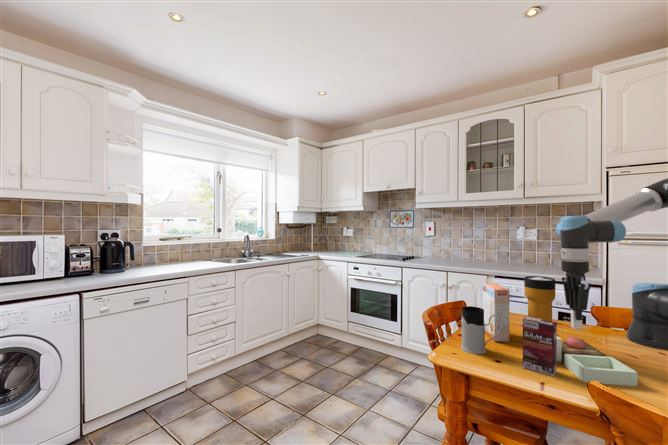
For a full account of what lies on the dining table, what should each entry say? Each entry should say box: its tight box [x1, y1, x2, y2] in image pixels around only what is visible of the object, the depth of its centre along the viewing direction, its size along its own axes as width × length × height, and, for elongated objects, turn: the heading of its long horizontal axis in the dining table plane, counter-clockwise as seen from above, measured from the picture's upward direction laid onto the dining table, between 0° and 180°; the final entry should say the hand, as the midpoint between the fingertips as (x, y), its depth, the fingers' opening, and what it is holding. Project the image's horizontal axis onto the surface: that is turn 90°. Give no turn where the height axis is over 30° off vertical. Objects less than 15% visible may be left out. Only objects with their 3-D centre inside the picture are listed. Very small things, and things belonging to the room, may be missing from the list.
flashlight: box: [523, 275, 556, 322], centre depth 119 cm, size 10×26×10 cm
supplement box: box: [522, 316, 558, 377], centre depth 98 cm, size 9×5×16 cm, turn 45°
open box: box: [556, 336, 563, 364], centre depth 107 cm, size 7×7×8 cm
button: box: [566, 336, 586, 350], centre depth 106 cm, size 5×5×3 cm
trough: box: [563, 354, 638, 387], centre depth 95 cm, size 14×10×4 cm
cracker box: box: [482, 282, 510, 343], centre depth 128 cm, size 14×6×21 cm, turn 171°
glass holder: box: [460, 305, 503, 355], centre depth 114 cm, size 9×14×15 cm, turn 67°
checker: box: [561, 340, 606, 364], centre depth 106 cm, size 12×10×4 cm
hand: (576, 328), depth 106 cm, fingers closed
